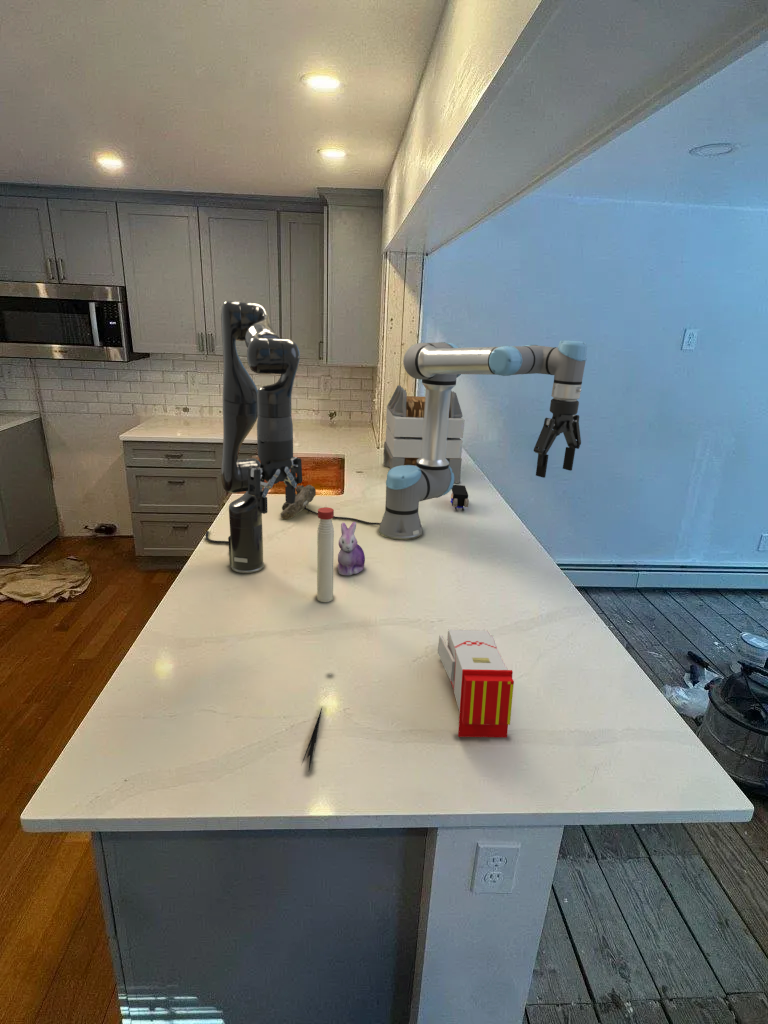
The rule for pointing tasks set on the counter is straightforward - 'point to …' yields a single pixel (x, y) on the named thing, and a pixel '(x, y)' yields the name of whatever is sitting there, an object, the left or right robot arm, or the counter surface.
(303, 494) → the fossil
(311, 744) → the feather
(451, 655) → the toy
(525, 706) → the counter surface
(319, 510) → the cap
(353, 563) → the figurine
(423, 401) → the white slatted crate
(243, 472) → the left robot arm
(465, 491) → the figurine character
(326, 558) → the bottle
